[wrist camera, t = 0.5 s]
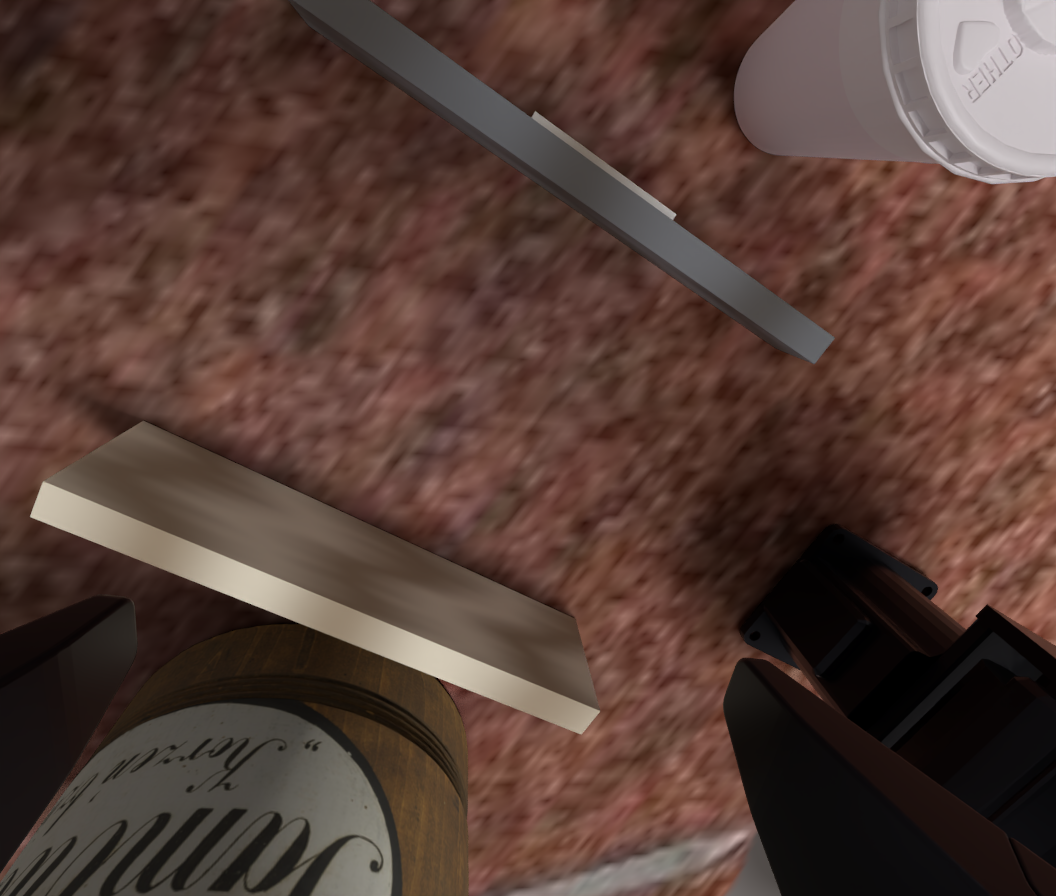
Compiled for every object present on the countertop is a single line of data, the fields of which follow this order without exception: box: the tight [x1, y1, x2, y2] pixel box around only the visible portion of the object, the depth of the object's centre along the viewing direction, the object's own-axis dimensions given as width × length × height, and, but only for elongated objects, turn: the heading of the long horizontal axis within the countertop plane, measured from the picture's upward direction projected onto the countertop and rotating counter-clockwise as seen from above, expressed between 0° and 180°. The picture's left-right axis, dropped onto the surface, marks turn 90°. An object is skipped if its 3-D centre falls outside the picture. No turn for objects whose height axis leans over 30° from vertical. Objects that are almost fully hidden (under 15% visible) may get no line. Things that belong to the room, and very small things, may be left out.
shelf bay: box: [30, 0, 834, 734], centre depth 18 cm, size 18×16×5 cm
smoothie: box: [734, 0, 1056, 184], centre depth 11 cm, size 6×6×14 cm
